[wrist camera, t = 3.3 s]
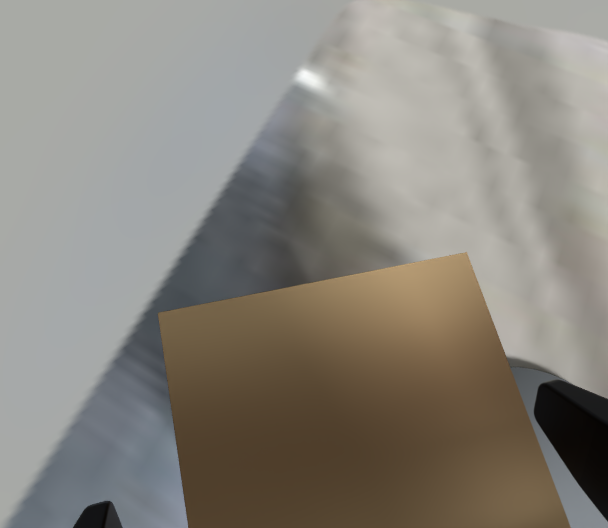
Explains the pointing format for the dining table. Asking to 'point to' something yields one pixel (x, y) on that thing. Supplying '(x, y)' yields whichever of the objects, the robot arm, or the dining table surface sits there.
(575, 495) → the disc
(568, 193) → the dining table surface
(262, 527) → the wooden stool
